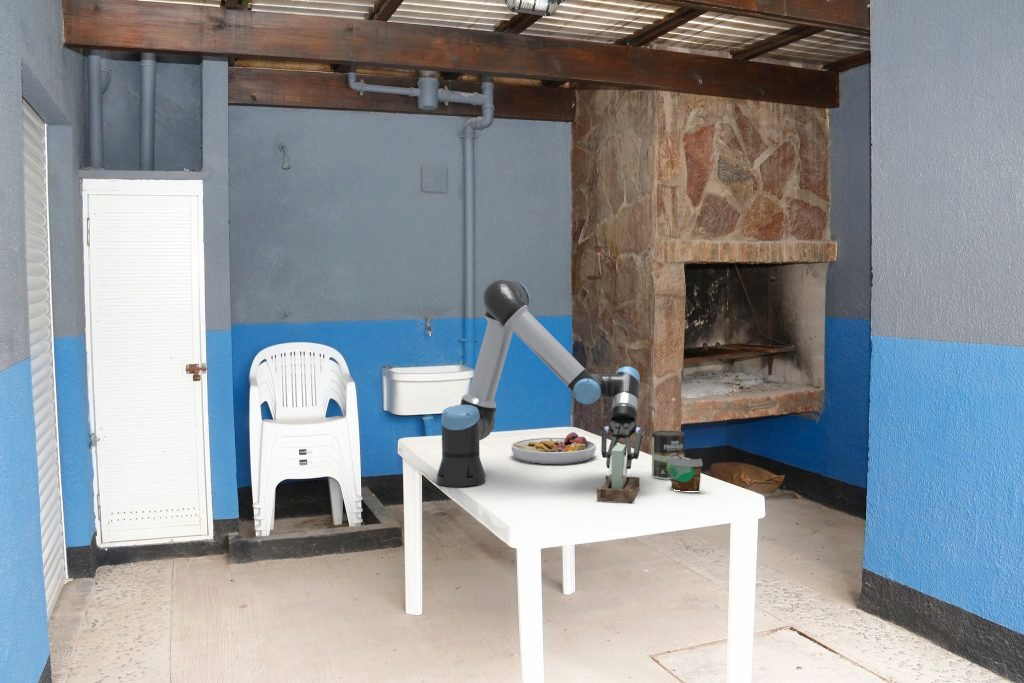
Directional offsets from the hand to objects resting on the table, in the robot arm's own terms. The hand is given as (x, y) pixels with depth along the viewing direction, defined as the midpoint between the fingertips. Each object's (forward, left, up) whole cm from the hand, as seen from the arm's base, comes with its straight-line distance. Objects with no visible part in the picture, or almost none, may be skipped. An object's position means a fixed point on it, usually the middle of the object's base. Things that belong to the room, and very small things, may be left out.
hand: (617, 477), depth 243 cm
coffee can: (+12, +32, -6) cm, 35 cm away
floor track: (0, +4, -6) cm, 7 cm away
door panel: (0, +4, -3) cm, 5 cm away
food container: (+17, +14, -6) cm, 23 cm away
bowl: (-30, +55, -7) cm, 63 cm away
